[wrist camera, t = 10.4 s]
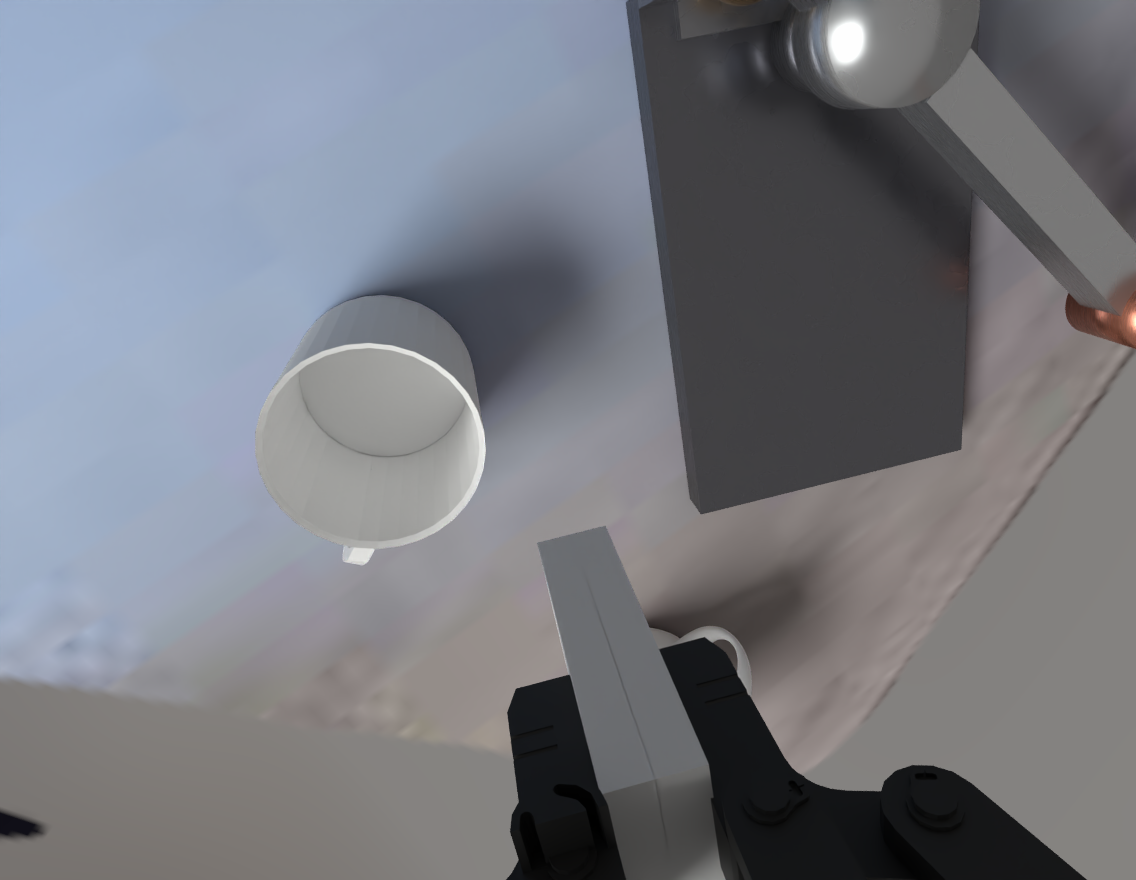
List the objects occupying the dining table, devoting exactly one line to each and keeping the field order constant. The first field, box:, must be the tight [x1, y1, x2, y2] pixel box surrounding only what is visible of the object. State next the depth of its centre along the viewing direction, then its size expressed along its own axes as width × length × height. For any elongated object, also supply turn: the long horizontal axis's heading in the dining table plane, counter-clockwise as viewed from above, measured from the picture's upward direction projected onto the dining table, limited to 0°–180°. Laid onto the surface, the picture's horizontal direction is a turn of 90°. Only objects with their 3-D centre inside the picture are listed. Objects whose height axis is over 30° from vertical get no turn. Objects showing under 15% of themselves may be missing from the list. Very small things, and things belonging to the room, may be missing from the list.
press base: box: [626, 0, 979, 514], centre depth 36 cm, size 30×16×6 cm, turn 10°
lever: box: [788, 0, 1136, 349], centre depth 31 cm, size 28×6×4 cm, turn 52°
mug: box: [255, 295, 486, 565], centre depth 35 cm, size 12×9×9 cm
